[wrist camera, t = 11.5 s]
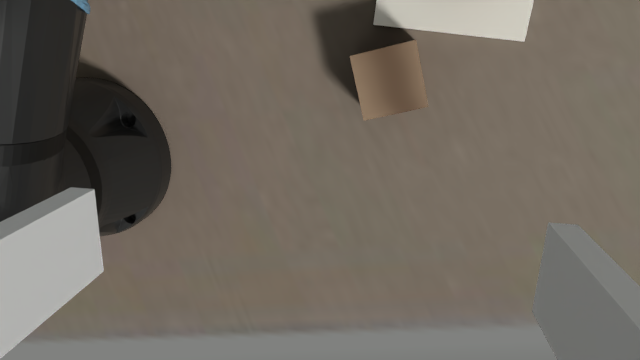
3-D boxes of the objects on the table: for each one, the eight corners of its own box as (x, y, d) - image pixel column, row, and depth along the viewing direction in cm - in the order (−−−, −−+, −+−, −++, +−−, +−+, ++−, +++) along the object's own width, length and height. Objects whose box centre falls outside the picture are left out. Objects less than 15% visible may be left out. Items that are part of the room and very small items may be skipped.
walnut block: (367, 111, 42) (363, 120, 38) (355, 54, 41) (349, 56, 37) (425, 98, 41) (428, 106, 37) (414, 39, 40) (416, 39, 35)
